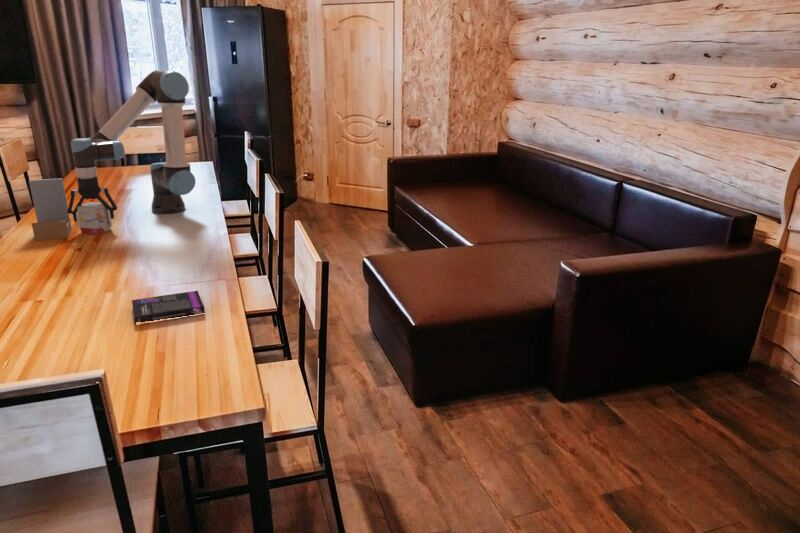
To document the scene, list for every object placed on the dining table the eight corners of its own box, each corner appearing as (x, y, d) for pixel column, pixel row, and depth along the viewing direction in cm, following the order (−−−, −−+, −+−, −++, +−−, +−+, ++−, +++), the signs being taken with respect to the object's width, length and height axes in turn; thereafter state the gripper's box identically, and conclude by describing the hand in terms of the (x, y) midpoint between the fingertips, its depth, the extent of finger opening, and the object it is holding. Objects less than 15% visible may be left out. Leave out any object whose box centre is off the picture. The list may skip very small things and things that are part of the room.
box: (199, 300, 186) (132, 309, 178) (198, 290, 184) (131, 298, 176) (205, 317, 174) (134, 327, 166) (204, 306, 173) (132, 316, 165)
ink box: (98, 235, 243) (93, 207, 238) (80, 233, 244) (75, 206, 240) (112, 229, 250) (107, 202, 246) (94, 227, 252) (89, 201, 248)
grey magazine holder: (71, 228, 250) (62, 178, 242) (68, 237, 239) (58, 185, 231) (39, 231, 246) (29, 180, 238) (35, 240, 234) (23, 187, 227)
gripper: (118, 173, 246) (126, 222, 254) (55, 176, 238) (65, 227, 245) (118, 176, 240) (126, 227, 248) (53, 180, 231) (63, 232, 239)
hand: (95, 227), depth 247 cm, fingers closed on ink box, 11 cm apart
